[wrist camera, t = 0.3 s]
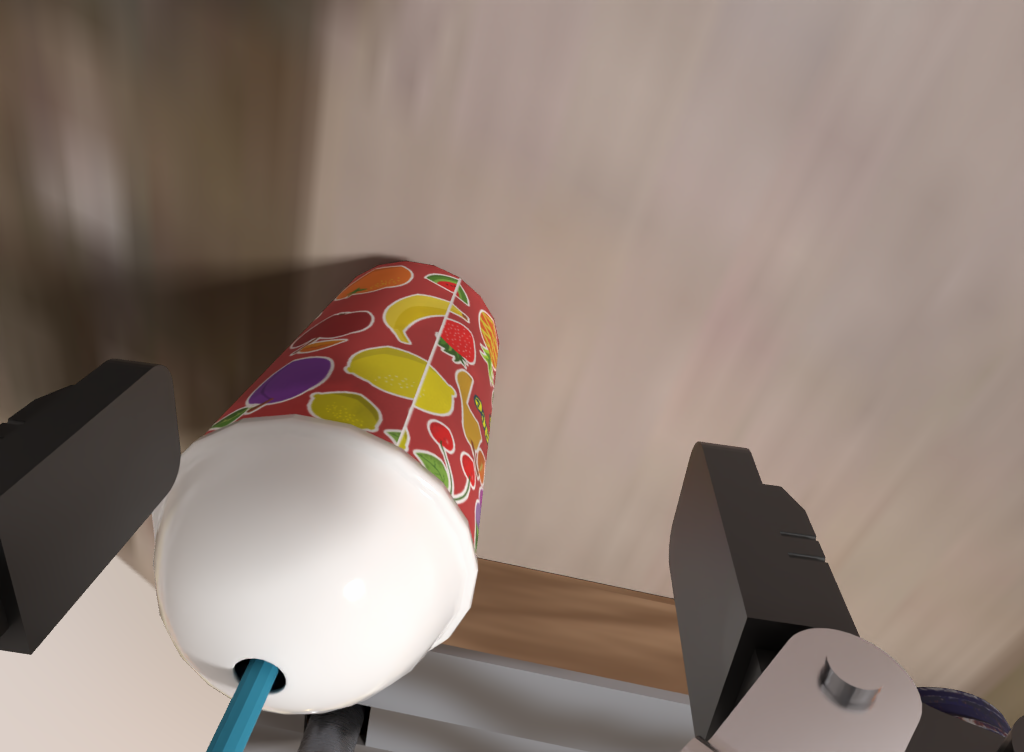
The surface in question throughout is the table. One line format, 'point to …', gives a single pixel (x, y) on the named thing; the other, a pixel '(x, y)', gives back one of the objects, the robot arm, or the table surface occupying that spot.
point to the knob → (333, 730)
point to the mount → (531, 676)
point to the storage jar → (965, 708)
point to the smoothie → (335, 504)
